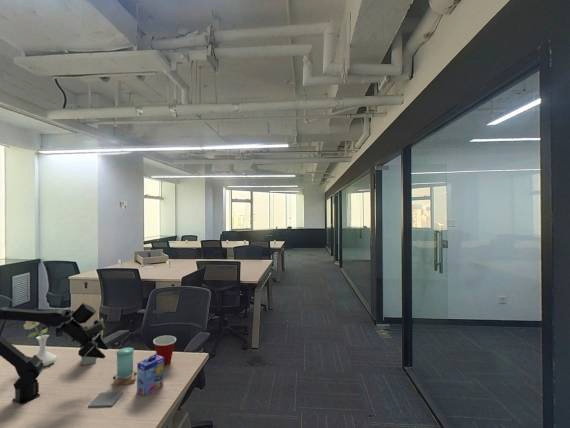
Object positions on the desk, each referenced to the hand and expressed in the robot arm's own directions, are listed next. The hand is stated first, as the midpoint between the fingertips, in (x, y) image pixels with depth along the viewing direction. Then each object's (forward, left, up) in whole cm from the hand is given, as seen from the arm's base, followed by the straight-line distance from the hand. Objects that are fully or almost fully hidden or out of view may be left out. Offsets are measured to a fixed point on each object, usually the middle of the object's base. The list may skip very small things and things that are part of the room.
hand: (106, 353), depth 136 cm
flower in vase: (0, +46, -13) cm, 48 cm away
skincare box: (+12, +27, -13) cm, 32 cm away
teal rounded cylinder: (+5, -5, -10) cm, 13 cm away
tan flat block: (+5, -5, -13) cm, 15 cm away
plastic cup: (+24, -10, -13) cm, 30 cm away
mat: (-9, -11, -13) cm, 19 cm away
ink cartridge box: (+4, -21, -13) cm, 26 cm away
